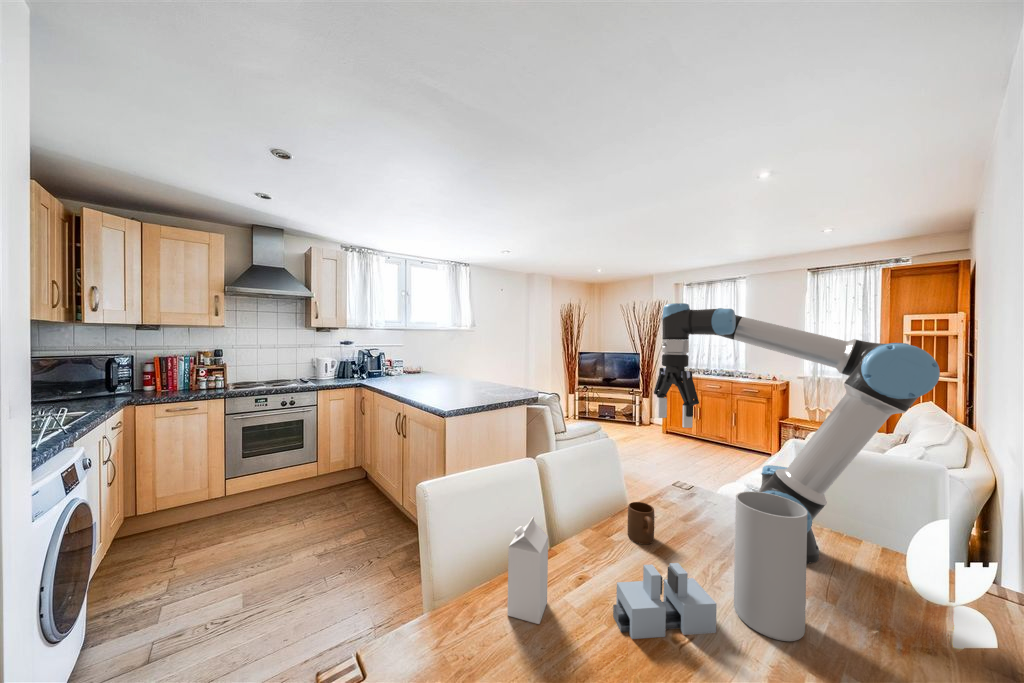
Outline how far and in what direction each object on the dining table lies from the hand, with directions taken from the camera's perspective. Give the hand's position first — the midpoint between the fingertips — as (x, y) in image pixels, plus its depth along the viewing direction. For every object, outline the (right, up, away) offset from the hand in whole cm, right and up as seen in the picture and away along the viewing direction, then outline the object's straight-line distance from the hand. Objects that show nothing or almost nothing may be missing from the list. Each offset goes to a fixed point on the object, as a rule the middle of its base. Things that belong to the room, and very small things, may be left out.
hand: (674, 422), depth 113 cm
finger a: (-23, -34, -36) cm, 55 cm away
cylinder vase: (+5, -35, -35) cm, 49 cm away
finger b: (-12, -34, -34) cm, 50 cm away
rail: (-18, -34, -35) cm, 52 cm away
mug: (-11, -35, -5) cm, 37 cm away
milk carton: (-47, -34, -33) cm, 67 cm away
